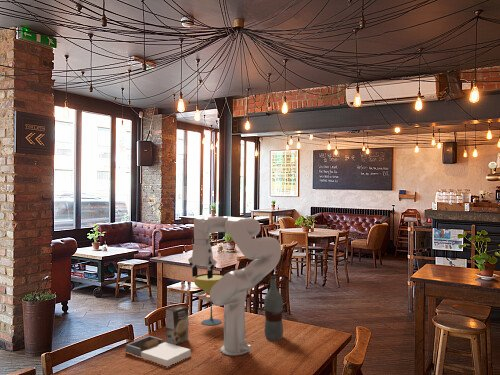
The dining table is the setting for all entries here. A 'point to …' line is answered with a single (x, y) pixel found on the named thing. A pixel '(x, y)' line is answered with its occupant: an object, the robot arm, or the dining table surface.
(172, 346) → the white flat block
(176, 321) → the coffee box
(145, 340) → the tray
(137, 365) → the dining table surface
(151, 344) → the tile
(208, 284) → the cocktail glass
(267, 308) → the bottle
